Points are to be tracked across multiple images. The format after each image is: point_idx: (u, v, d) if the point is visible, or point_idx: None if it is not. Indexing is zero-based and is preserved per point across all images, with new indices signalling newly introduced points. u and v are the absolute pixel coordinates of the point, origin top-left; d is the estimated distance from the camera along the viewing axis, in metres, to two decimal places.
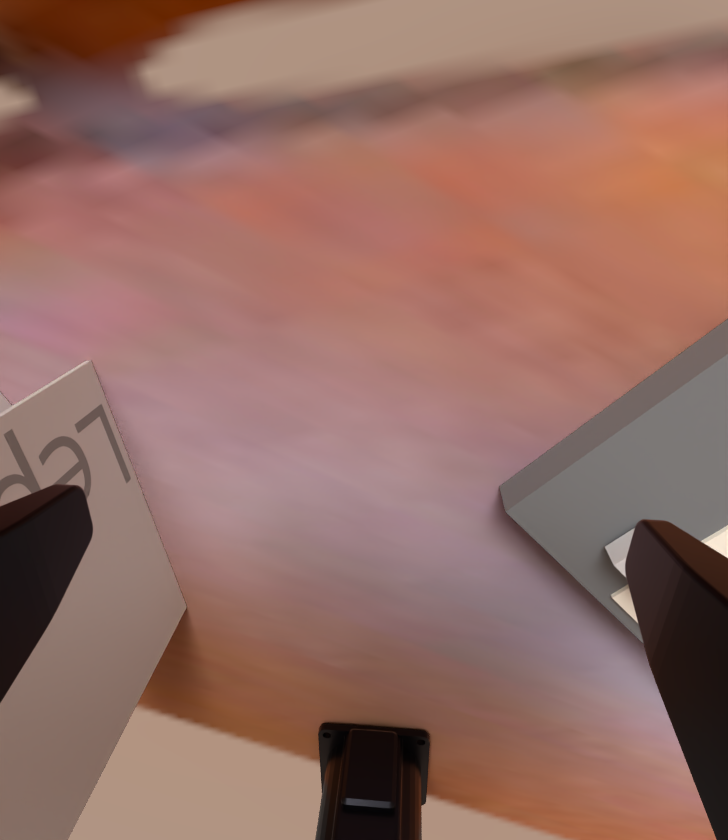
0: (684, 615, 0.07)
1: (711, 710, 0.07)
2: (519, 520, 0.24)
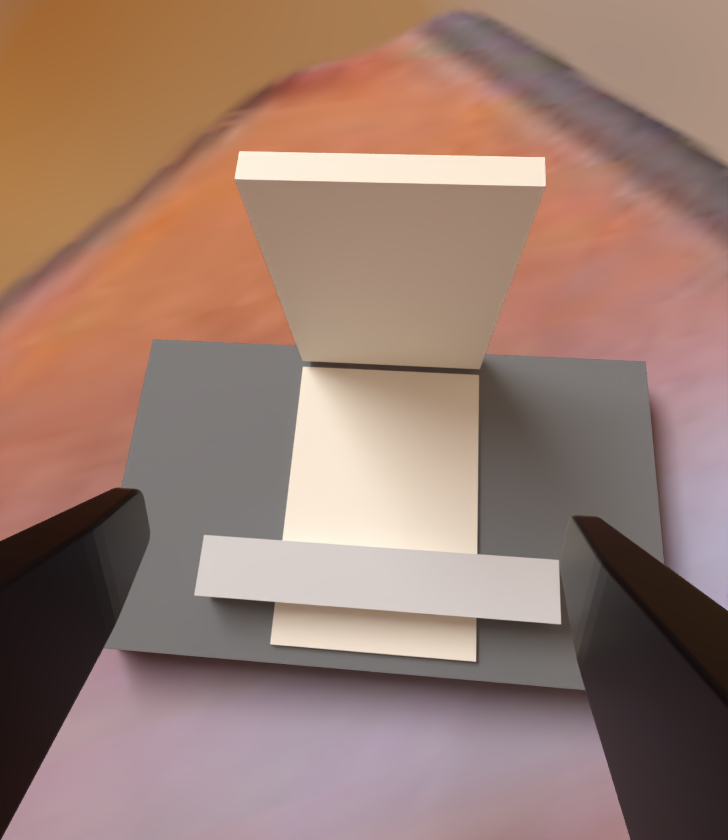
0: (602, 609, 0.07)
1: (623, 703, 0.07)
2: (108, 643, 0.20)
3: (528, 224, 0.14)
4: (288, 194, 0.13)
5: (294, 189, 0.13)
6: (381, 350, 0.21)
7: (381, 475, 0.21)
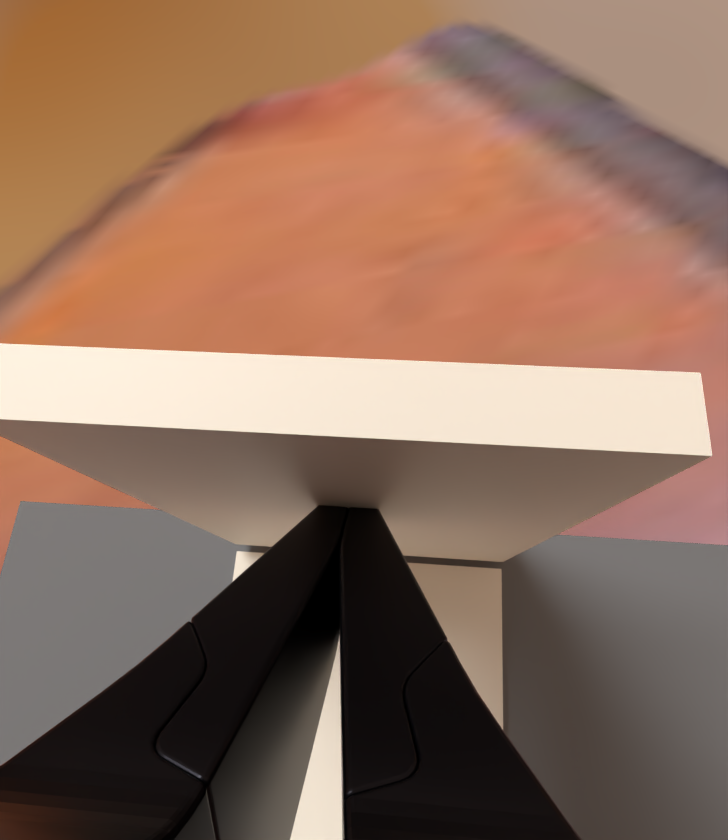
0: None
1: (340, 679, 0.07)
2: None
3: (640, 487, 0.06)
4: (99, 437, 0.06)
5: (109, 431, 0.06)
6: None
7: None
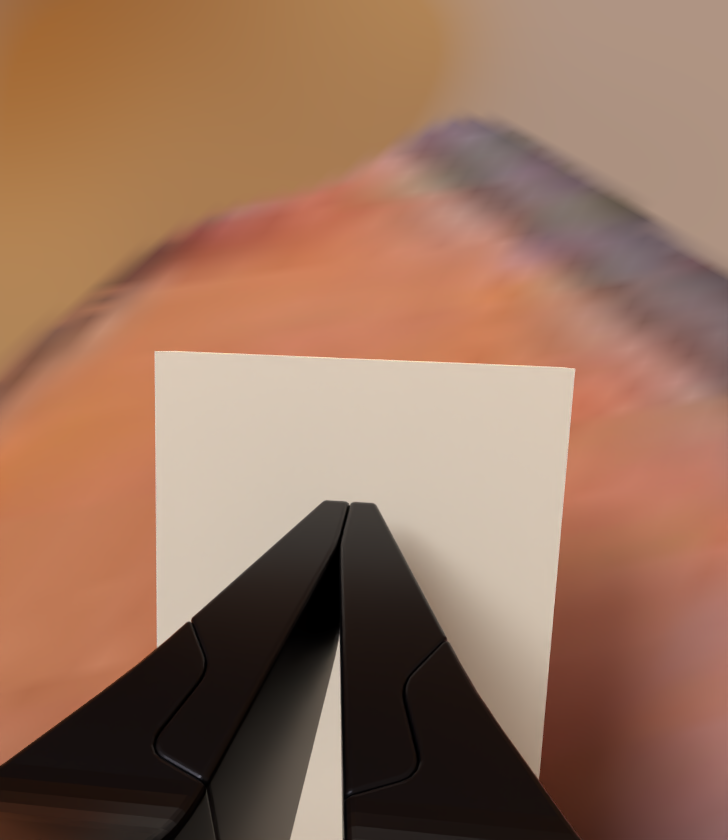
0: None
1: (340, 679, 0.07)
2: None
3: (563, 447, 0.09)
4: (221, 381, 0.09)
5: (231, 373, 0.09)
6: (324, 828, 0.10)
7: None
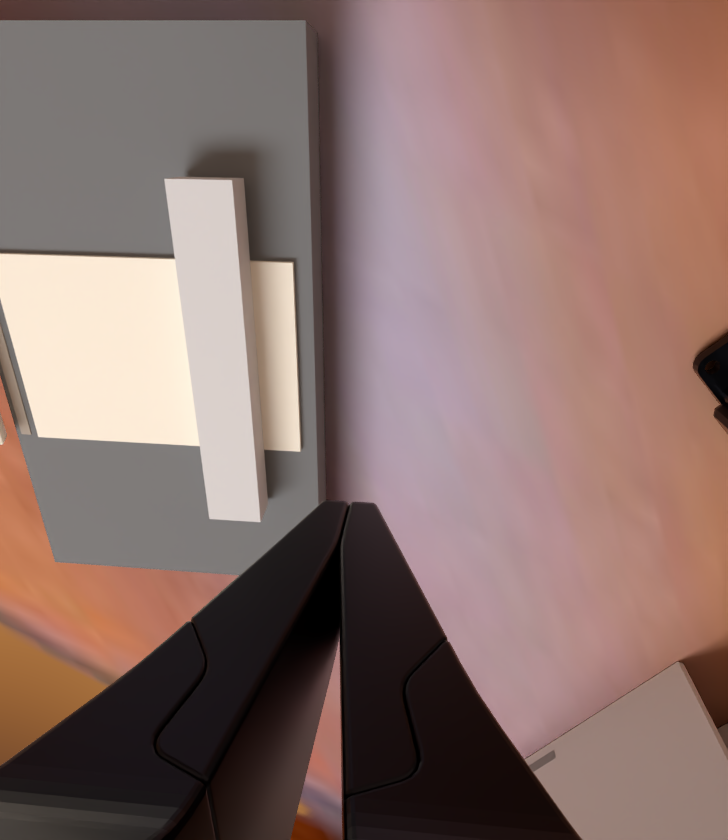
0: None
1: None
2: None
3: None
4: None
5: None
6: None
7: (128, 359, 0.20)
